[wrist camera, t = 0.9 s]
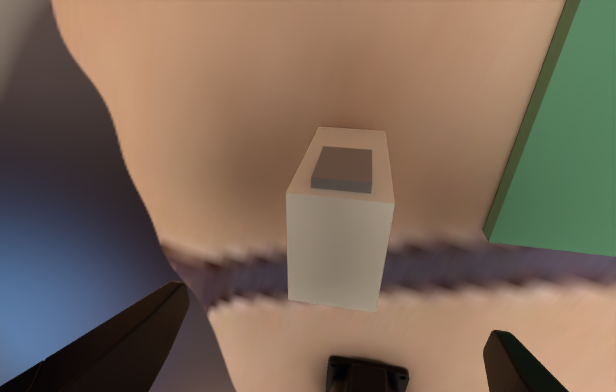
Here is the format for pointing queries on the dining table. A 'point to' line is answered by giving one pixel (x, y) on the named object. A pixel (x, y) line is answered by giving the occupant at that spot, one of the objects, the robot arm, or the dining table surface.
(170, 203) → the dining table surface
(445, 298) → the dining table surface
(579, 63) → the circuit board
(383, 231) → the light grey upright block
